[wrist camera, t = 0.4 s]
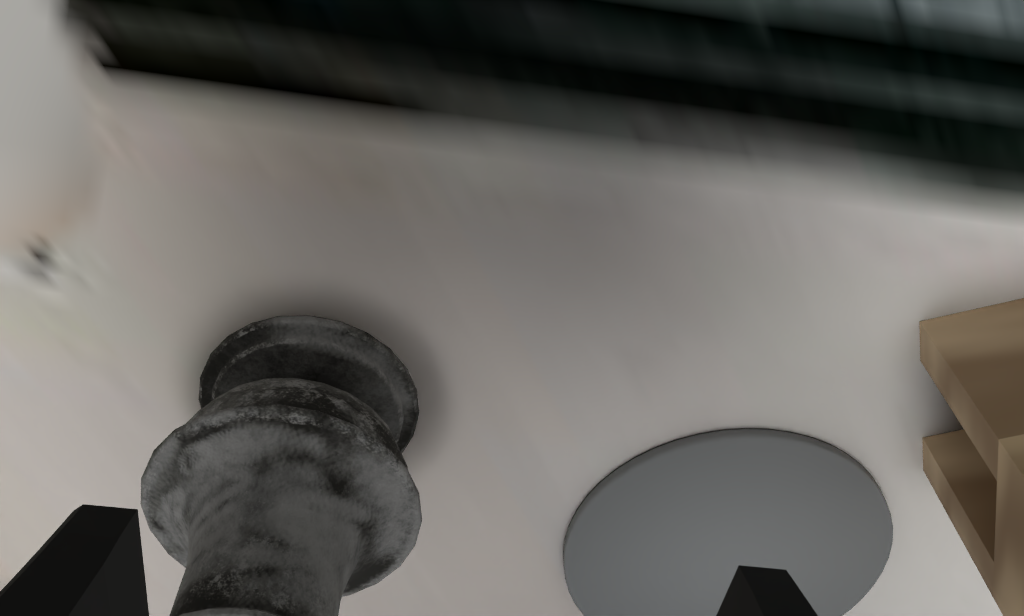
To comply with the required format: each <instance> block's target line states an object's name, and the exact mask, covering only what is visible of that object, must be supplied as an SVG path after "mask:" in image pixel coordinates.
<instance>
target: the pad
mask: <svg viewBox="0 0 1024 616" xmlns="http://www.w3.org/2000/svg"><path fill="white" fill-rule="evenodd" d="M892 538H893V525H892V519H891V514H890V511H889V508H888V506H887V503H886V501H885V499H884V496H883V494H882V492H881V490H880V488H879V487H878V485H877V484H876V482H875V481H874V479H873V477H872V476H871V475H870V474H869V473H868V472H867V471H866V470H865V469H864V467H863V466H862V465H861V464H859V463H858V462H857V461H855V460H854V459H853V458H852V457H850V456H849V455H848V454H846V453H844V452H842V451H841V450H839V449H837V448H835V447H833V446H831V445H829V444H827V443H824V442H821V441H819V440H816V439H814V438H811V437H807V436H803V435H799V434H795V433H791V432H783V431H776V430H766V429H737V430H722V431H716V432H710V433H704V434H698V435H694V436H691V437H687V438H683V439H679V440H676V441H673V442H670V443H668V444H665V445H662V446H659V447H657V448H654V449H652V450H650V451H648V452H646V453H644V454H642V455H640V456H638V457H636V458H634V459H632V460H631V461H629V462H627V463H626V464H624V465H623V466H621V467H619V468H618V469H616V470H615V471H614V472H613V473H611V474H610V475H609V476H608V477H606V478H605V479H604V480H603V481H601V482H600V483H599V484H598V485H597V486H596V487H595V488H594V489H593V490H592V491H591V492H590V493H589V495H588V496H587V497H586V498H585V500H584V501H583V502H582V504H581V505H580V506H579V508H578V509H577V511H576V513H575V515H574V517H573V519H572V521H571V523H570V525H569V528H568V531H567V534H566V537H565V544H564V551H563V554H564V569H565V579H566V582H567V586H568V590H569V592H570V594H571V596H572V599H573V601H574V603H575V604H576V606H577V607H578V608H579V610H580V611H581V612H582V614H583V615H584V616H716V615H717V613H718V611H719V608H720V606H721V604H722V602H723V599H724V597H725V595H726V593H727V590H728V588H729V586H730V584H731V581H732V579H733V577H734V575H735V572H736V570H737V568H738V566H739V565H741V566H752V567H763V568H774V569H784V570H787V572H788V573H789V574H790V576H791V577H792V579H793V580H794V582H795V583H796V584H797V586H798V587H799V589H800V590H801V592H802V593H803V595H804V596H805V597H806V599H807V600H808V602H809V603H810V605H811V606H812V608H813V609H814V611H815V612H816V614H817V615H818V616H842V615H844V614H845V613H846V612H848V611H849V610H850V609H851V608H852V607H854V606H855V605H856V604H857V603H858V602H859V601H860V600H861V599H862V598H863V597H864V596H865V595H866V594H867V592H868V591H869V590H870V589H871V588H872V587H873V585H874V584H875V582H876V581H877V579H878V578H879V576H880V575H881V573H882V571H883V569H884V567H885V565H886V562H887V560H888V558H889V554H890V550H891V546H892Z"/></svg>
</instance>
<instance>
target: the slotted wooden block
mask: <svg viewBox="0 0 1024 616" xmlns="http://www.w3.org/2000/svg"><path fill="white" fill-rule="evenodd" d="M919 323H920V361H921V362H922V364H923V365H924V367H925V369H926V370H927V372H928V373H929V375H930V376H931V378H932V380H933V381H934V383H935V384H936V386H937V387H938V389H939V391H940V392H941V394H942V395H943V397H944V398H945V400H946V402H947V403H948V405H949V406H950V408H951V409H952V411H953V413H954V414H955V416H956V417H957V419H958V420H959V422H960V424H961V425H962V427H963V428H964V429H963V430H958V431H953V432H948V433H943V434H938V435H934V436H929V437H924V438H923V470H924V472H925V474H926V476H927V478H928V480H929V481H930V483H931V485H932V487H933V489H934V490H935V492H936V494H937V496H938V498H939V500H940V501H941V503H942V505H943V507H944V509H945V510H946V512H947V514H948V516H949V518H950V520H951V521H952V523H953V525H954V527H955V529H956V530H957V532H958V534H959V536H960V538H961V540H962V541H963V543H964V545H965V547H966V549H967V550H968V552H969V554H970V556H971V558H972V560H973V561H974V563H975V565H976V567H977V569H978V570H979V572H980V574H981V576H982V578H983V580H984V581H985V583H986V585H987V587H988V589H989V590H990V592H991V594H992V596H993V598H994V600H995V601H996V603H997V605H998V607H999V609H1000V610H1001V612H1002V614H1003V616H1024V298H1023V299H1018V300H1014V301H1009V302H1005V303H1000V304H996V305H991V306H987V307H982V308H978V309H973V310H969V311H964V312H960V313H955V314H951V315H946V316H942V317H937V318H933V319H929V320H924V321H920V322H919Z"/></svg>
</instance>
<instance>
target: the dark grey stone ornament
mask: <svg viewBox="0 0 1024 616" xmlns="http://www.w3.org/2000/svg"><path fill="white" fill-rule="evenodd" d="M199 402H200V405H201V410H199V411H198V412H197V413H196V414H195V415H194V416H193V417H192V418H191V419H190V420H189V421H188V422H187V423H186V424H185V425H183V426H181V427H179V428H177V429H175V430H174V431H173V432H172V433H171V434H170V435H169V436H168V437H167V438H166V439H165V440H164V441H163V442H162V443H161V444H160V445H159V446H158V447H157V448H156V449H155V450H154V451H153V453H152V456H151V458H150V460H149V462H148V465H147V467H146V469H145V471H144V474H143V476H142V478H141V506H142V509H143V512H144V514H145V517H146V520H147V523H148V526H149V528H150V530H151V531H152V533H153V534H154V535H155V537H156V538H157V539H158V541H159V542H160V543H161V545H162V546H163V547H164V549H165V550H166V551H167V553H168V554H169V555H171V556H172V557H173V558H174V559H176V560H177V561H178V562H179V563H180V564H182V565H183V566H184V567H185V568H186V570H185V573H184V576H183V579H182V582H181V584H180V587H179V590H178V593H177V596H176V599H175V602H174V605H173V607H172V610H171V613H170V616H338V613H339V607H340V601H341V598H342V597H343V596H348V595H351V594H353V593H356V592H358V591H360V590H363V589H365V588H367V587H370V586H372V585H374V584H377V583H378V582H380V581H381V580H382V579H384V578H385V577H386V576H388V575H389V574H390V573H392V572H393V571H394V570H395V569H397V568H398V567H399V566H401V564H402V563H403V561H404V560H405V559H406V557H407V556H408V554H409V553H410V552H411V550H412V549H413V547H414V546H415V544H416V540H417V536H418V533H419V529H420V526H421V522H422V515H421V506H420V497H419V492H418V490H417V488H416V486H415V484H414V482H413V480H412V478H411V476H410V474H409V472H408V468H407V465H406V462H405V460H404V458H403V456H402V452H403V451H404V449H405V448H406V446H407V444H408V443H409V441H410V440H411V438H412V437H413V435H414V431H415V427H416V423H417V419H418V414H419V409H418V399H417V390H416V388H415V386H414V383H413V381H412V379H411V377H410V375H409V372H408V370H407V368H406V367H405V366H404V365H403V364H402V363H401V361H400V360H399V359H398V358H397V357H396V356H395V354H394V353H393V352H392V351H391V350H390V349H389V348H388V347H386V346H385V345H383V344H382V343H381V342H379V341H378V340H376V339H375V338H373V337H372V336H371V335H369V334H368V333H366V332H363V331H361V330H359V329H356V328H354V327H351V326H349V325H347V324H344V323H342V322H339V321H334V320H329V319H323V318H318V317H313V316H281V317H275V318H271V319H267V320H263V321H259V322H256V323H252V324H249V325H248V326H246V327H244V328H242V329H240V330H239V331H237V332H235V333H233V334H231V335H230V336H228V337H227V338H226V339H225V340H224V341H223V342H222V343H221V344H220V345H219V346H218V347H217V348H216V349H215V350H214V351H213V352H212V353H211V355H210V357H209V359H208V362H207V364H206V366H205V368H204V370H203V372H202V375H201V377H200V390H199Z"/></svg>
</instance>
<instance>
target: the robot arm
mask: <svg viewBox="0 0 1024 616" xmlns="http://www.w3.org/2000/svg"><path fill="white" fill-rule="evenodd" d="M0 616H149V611H148V602H147V593H146V583H145V574H144V565H143V556H142V546H141V537H140V528H139V518H138V510H137V509H127V508H116V507H105V506H94V505H82V506H80V507H79V508H77V509H75V510H74V511H73V512H72V513H71V514H70V516H69V517H68V518H67V519H66V520H65V521H64V522H63V523H62V525H61V526H60V527H59V528H58V529H57V530H56V531H55V533H54V534H53V535H52V536H51V537H50V538H49V539H48V540H47V541H46V543H45V544H44V545H43V546H42V547H41V548H40V549H39V550H38V551H37V553H36V554H35V555H34V556H33V557H32V558H31V559H30V560H29V561H28V562H27V563H26V565H25V566H24V567H23V568H22V569H21V570H20V571H19V572H18V573H17V574H16V575H15V576H14V578H13V579H12V580H11V581H10V582H9V583H8V584H7V585H6V586H5V587H4V588H3V589H2V590H1V591H0ZM716 616H818V615H817V614H816V612H815V611H814V609H813V608H812V606H811V605H810V603H809V602H808V600H807V599H806V597H805V596H804V595H803V593H802V592H801V590H800V589H799V587H798V586H797V584H796V583H795V582H794V580H793V579H792V577H791V576H790V574H789V573H788V572H787V570H784V569H774V568H763V567H752V566H741V565H739V566H738V568H737V570H736V572H735V575H734V577H733V579H732V581H731V584H730V586H729V588H728V590H727V593H726V595H725V597H724V599H723V602H722V604H721V606H720V608H719V611H718V613H717V615H716Z"/></svg>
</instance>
